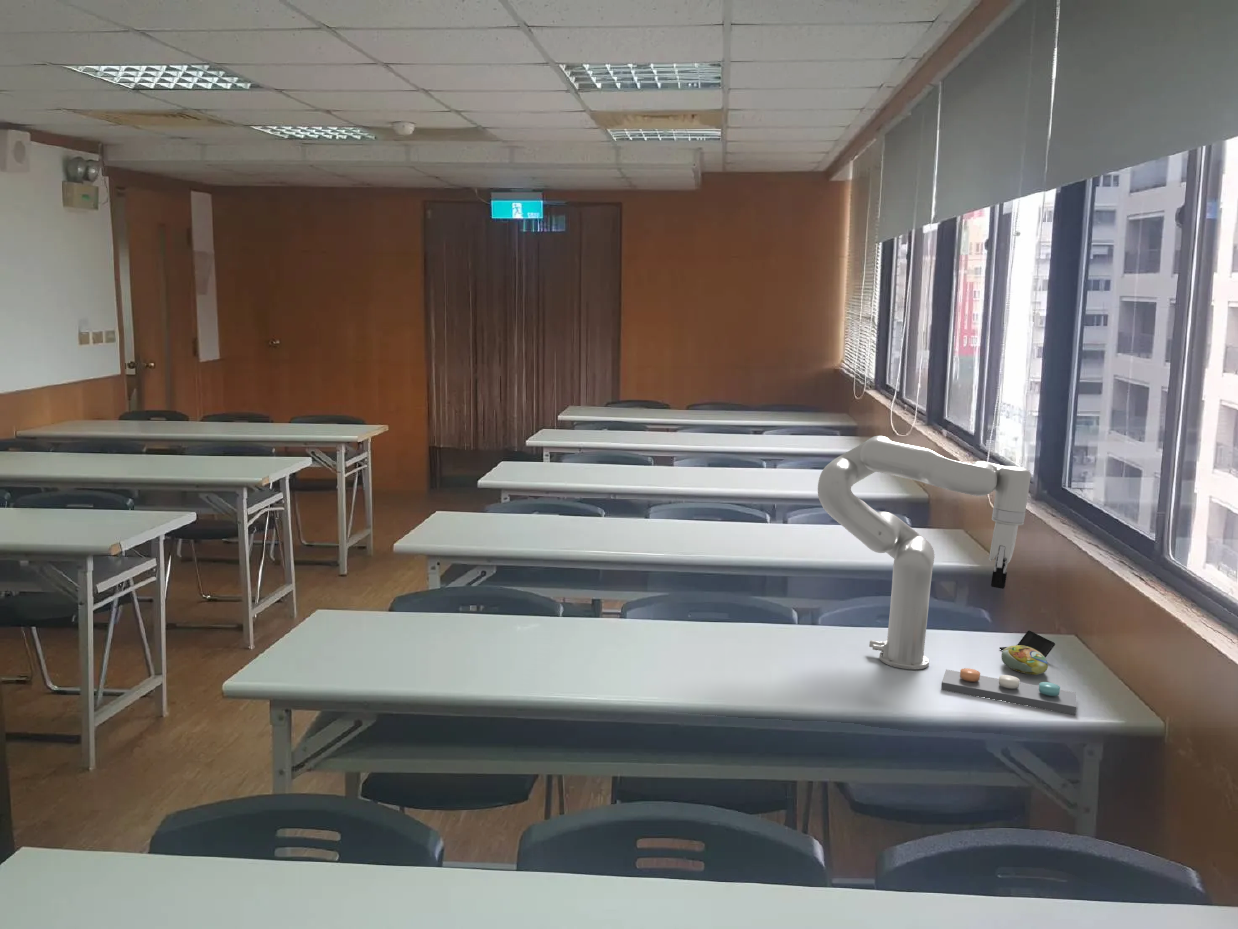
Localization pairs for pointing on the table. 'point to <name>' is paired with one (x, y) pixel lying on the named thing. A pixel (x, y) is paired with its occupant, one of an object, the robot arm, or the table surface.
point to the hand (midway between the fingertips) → (997, 586)
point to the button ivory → (1009, 681)
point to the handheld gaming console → (1036, 643)
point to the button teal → (1049, 688)
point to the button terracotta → (970, 674)
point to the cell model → (1024, 660)
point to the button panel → (1010, 693)
